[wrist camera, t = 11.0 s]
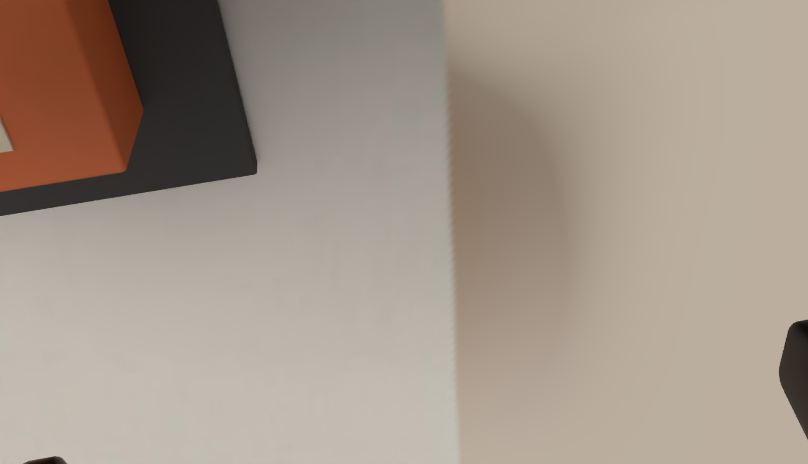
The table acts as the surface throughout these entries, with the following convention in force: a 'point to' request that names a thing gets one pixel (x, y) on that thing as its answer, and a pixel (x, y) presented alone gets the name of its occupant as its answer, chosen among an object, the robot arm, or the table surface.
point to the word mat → (167, 108)
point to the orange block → (63, 93)
